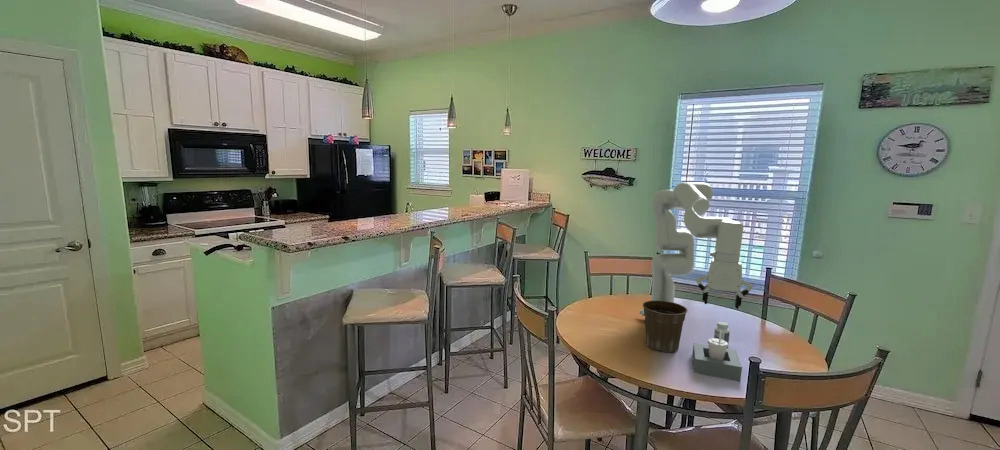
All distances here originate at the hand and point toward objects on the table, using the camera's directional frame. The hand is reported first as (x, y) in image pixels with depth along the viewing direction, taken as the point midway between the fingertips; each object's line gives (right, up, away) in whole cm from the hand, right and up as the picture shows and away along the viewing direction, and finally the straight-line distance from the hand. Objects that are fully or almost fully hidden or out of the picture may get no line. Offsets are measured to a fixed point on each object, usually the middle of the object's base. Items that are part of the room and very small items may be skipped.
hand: (720, 305), depth 144 cm
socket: (-1, -23, +3) cm, 23 cm away
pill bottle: (+12, -20, +23) cm, 33 cm away
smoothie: (0, -23, +3) cm, 23 cm away
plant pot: (-13, -20, +20) cm, 31 cm away
